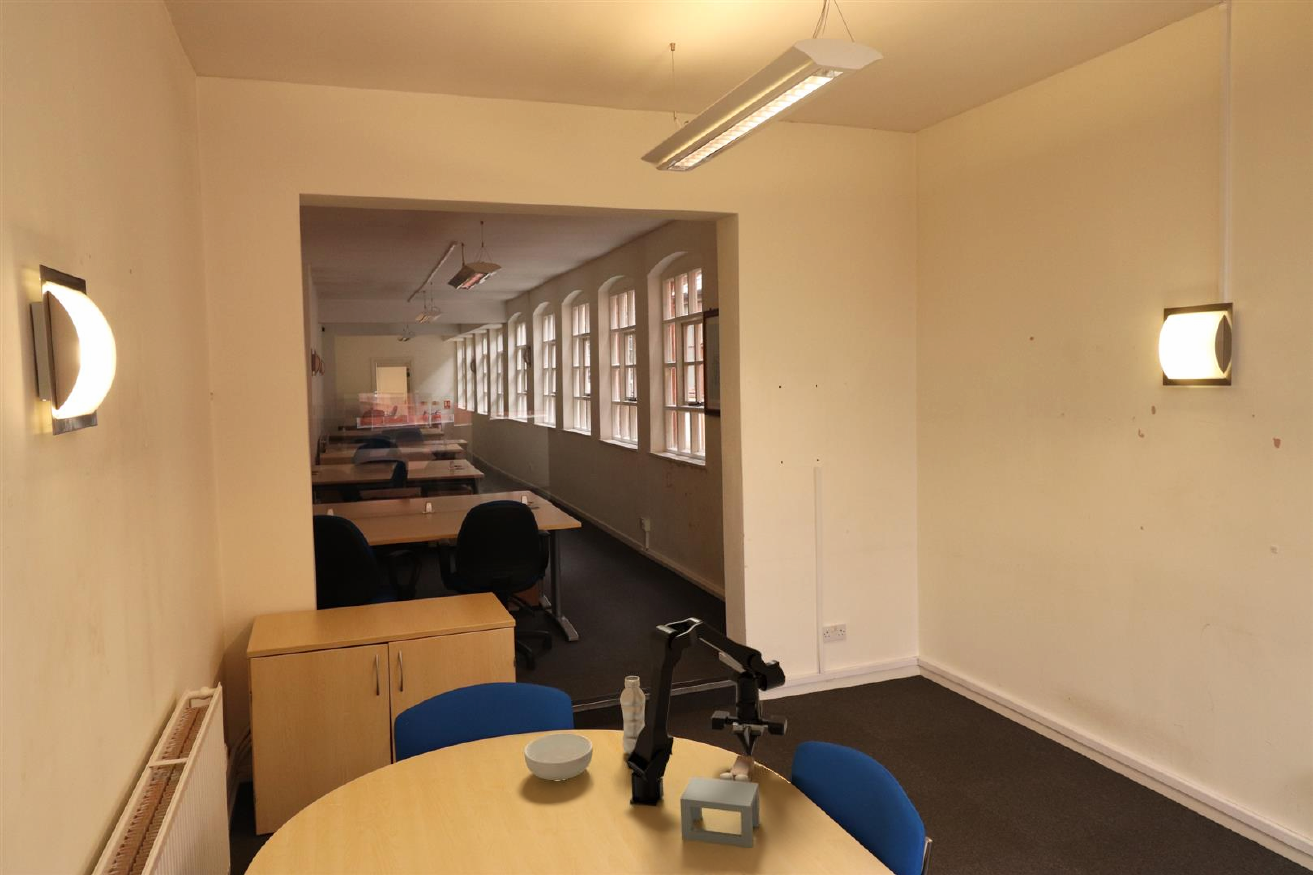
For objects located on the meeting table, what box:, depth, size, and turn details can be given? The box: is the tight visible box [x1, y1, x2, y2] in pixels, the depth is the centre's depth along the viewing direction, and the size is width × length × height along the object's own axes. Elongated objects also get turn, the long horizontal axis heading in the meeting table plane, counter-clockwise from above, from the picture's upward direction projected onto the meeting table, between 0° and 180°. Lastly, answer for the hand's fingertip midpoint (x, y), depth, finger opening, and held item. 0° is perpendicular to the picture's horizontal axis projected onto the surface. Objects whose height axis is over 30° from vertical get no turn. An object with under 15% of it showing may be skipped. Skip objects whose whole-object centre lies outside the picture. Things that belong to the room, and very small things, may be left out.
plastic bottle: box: [619, 675, 646, 755], centre depth 226 cm, size 6×7×20 cm
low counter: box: [679, 776, 761, 849], centre depth 187 cm, size 15×10×9 cm, turn 73°
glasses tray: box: [719, 755, 755, 783], centre depth 206 cm, size 18×7×5 cm, turn 163°
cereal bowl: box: [523, 732, 594, 781], centre depth 216 cm, size 17×17×7 cm
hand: (749, 755), depth 219 cm, fingers closed
